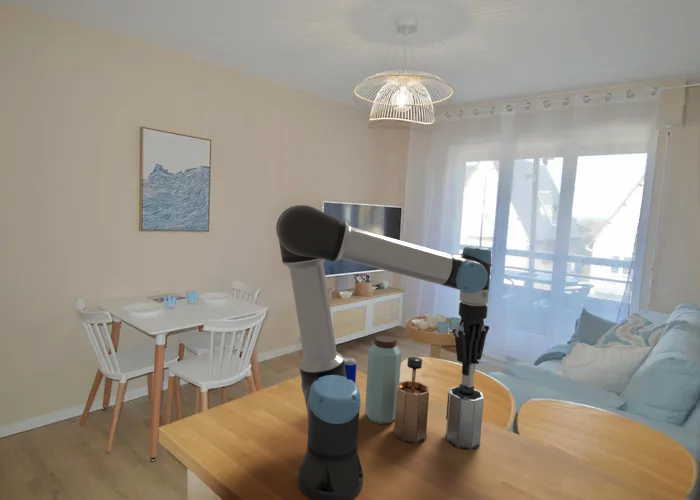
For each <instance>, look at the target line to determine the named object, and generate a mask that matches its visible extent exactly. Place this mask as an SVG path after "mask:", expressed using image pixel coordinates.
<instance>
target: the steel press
mask: <svg viewBox="0 0 700 500" xmlns="http://www.w3.org/2000/svg"><path fill="white" fill-rule="evenodd" d="M484 400H485V398H484V395H483V392H482V391H481V390H478V389H475V388H474V395H473V396H468V399H464V395H461V394H460V393H459V385H456V386H453V387H449V391H448V393H447V404H446V415H445V420H446V431H445V441H446V443H448V444H449V445H450V446H452V447H454V448H456V449H458V450H459V449H460V450H464V451H465V450H466V451H472V450H476V449H478V448H479V447H480V446H481V436H482V422H483V410H484Z"/></svg>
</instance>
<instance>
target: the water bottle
mask: <svg viewBox="0 0 700 500" xmlns="http://www.w3.org/2000/svg"><path fill="white" fill-rule="evenodd" d="M397 341H398V340H397V339H396V338H395V337H393V336H390V335H389V336H388V335H377V336H376V337H374V344H373V345H372V346H371V347H369V349H368V354H367V355H368V356H367V357H368V358H367V372H366V373H367V374H366V386H365V387H366V390H365V392H366V393H365V404H364V405H365V407H364V410H365V411H364V412H365V414H366V416H367V417H368V419H369V420H370V422H373V423H377V424H380V425H385V424H391V423H392V422H393V420H394V421H395V410H396V395H397V384H398V383H400V382H401V381H400V380H401V379H400V377H401V366H402V365H401V364H402V362H401V361H402V351H401V350H400V349H399V347H398V346H397V343H398V342H397Z"/></svg>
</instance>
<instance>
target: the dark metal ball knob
mask: <svg viewBox="0 0 700 500" xmlns="http://www.w3.org/2000/svg"><path fill="white" fill-rule="evenodd" d="M458 386H459V393H460V394H461V395H464V399H468V396H473V395H474V389H475V386H474V385H473V387H470V388H469V387H467V386H465V385H462V383H459V385H458Z"/></svg>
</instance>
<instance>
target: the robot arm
mask: <svg viewBox="0 0 700 500" xmlns="http://www.w3.org/2000/svg"><path fill="white" fill-rule="evenodd" d="M275 229H276V235H277V238H278V244H279V249H280V256H281V261H282V264H283V265H285V266H286V267H287V268H288V269H289V272H290V279H291V285H292V290H293V298H294V304H295V311H296V316H297V322H298V327H299V335H300V336H299V337H300V340H301V348H302V354H303V358H302V359H301V361H300V362H299V367H298V368H299V373H300V378H301V391H302V393H303V396H304V401H305V402H304V403H305V407H306V412H307V419H308V420H307V445H306V451H305V453H304V457H303V459H302V462H301V465H300V467H299V469H298V475H297V484H298V485H297V486H298V488H299V490H300V492H301V494H303V495H304V496H305V497H307V498H308V499H310V500H352V499H354V498H356V497H357V496H358V495H359V494H360V493H361V491H362V489H363V486H364V472H363V471H364V470H363V467H362V463H361V460H360V456H359V453H358V442H359V424H360V423H359V422H360V409H361V406H362V405H361V402H362V399H361V392H360V388H359V386H358V385H357V384H356V383H354V382H353V381H352V380H350V379H349V380H347V378H346V372H345V365H344V359H343V358H344V356H343V355H342V354H341V353H339V352H338V350H337V346H336V340H335V332H334V326H333V318H332V312H331V305H330V304H331V303H330V298H329V292H328V287H327V286H328V285H327V279H326V273H325V266H324V265H325V264H324V263H325V261H330V262H333V263H336V262H337V261H340V260H345V261H347V262H352V263H356V264H359V265H363V266H367V267H371V268H375V269H378V270H383V271H387V272H389V273H390V272H391V273H395V274H398V275H403V276H406V277H410V278H414V279H416V280H417V279H418V280H420V281H421V280H422V281H425V282H428V283H433V284H437V285H440V286H444V287H448V288H451V289H455V290H458V291H459V301H460V302H459V304H458V305H459V306H458V315H459V316H460V318H461V319H460V322H459V327H458V328H457V329H456V328H454V329H453V330H452V334H453V335H454V339H455V341H454V342H455V351H456V360H457V362H458V363H459V362H460V363H462V366H461V374H462V375H461V384H462V385H465V386H467V387H469V388H470V387H473V386H474V378H475V377H474V376H475V373H476V372H475V369H476V365H478V364H479V363H480V360H481V359H482V355H483V351H484V346H485V344H486V343H485V342H486V339H487V334H488V332H489V330H490V326H489V325H486V324H485V319H486V318H487V316H488V305H487V304H488V303H489V289H490V282H491V281H490V280H491V269H492V268H491V267H492V251H491V249H490V248H487V247H481V246H480V247H479V246H465V247H464V248H463V250H462V253H458V254H456V253H447V252H442V251H438V250H435V249H432V248H428V247H425V246H421V245H417V244H414V243H409V242H406V241H403V240H401V239H400V240H399V239H395V238H393V237H389V236H385V235H382V234H379V233H376V232H371V231H367V230H365V229H360V228H357V227H354V226H350V225H349V223H348V222H347V220H346V219H342V218H339V217H335V216H333V215H330V214H328V213H325V211H324V212H323V211H322V210H319V209H317V208H315V207H313V206H310V205H307V204H306V205H305V204H304V205H303V204H302V205H300V204H299V205H294V206H290V207H288V208H286V209H285V210H284V211H283V212H281V214H280V215H279V217H278V219H277V222H276V226H275ZM478 360H479V361H478Z"/></svg>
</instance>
